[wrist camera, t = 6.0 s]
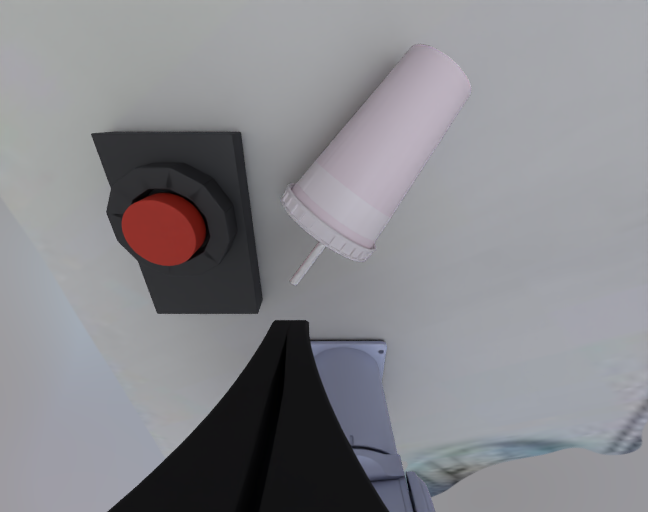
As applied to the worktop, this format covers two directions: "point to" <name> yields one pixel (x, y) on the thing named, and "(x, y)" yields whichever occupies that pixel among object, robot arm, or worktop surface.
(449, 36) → the worktop surface
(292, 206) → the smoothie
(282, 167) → the worktop surface
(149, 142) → the black base plate
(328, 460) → the robot arm
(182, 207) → the power button
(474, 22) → the worktop surface
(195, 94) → the worktop surface
